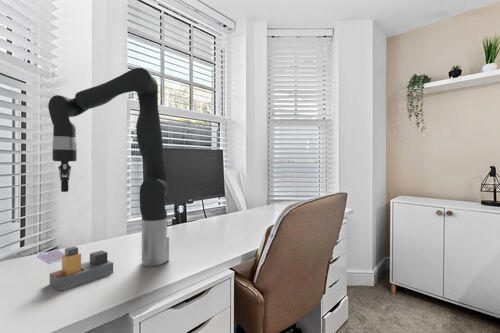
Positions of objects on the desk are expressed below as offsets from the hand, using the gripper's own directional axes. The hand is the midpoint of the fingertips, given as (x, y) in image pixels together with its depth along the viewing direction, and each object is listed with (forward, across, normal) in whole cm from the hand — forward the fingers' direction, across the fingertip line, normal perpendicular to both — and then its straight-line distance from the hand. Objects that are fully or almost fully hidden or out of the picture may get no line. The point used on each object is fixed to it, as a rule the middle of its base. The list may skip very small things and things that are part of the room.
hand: (64, 190), depth 98 cm
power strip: (+28, -20, -5) cm, 35 cm away
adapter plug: (+27, -21, -2) cm, 34 cm away
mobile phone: (+29, +11, +4) cm, 31 cm away
